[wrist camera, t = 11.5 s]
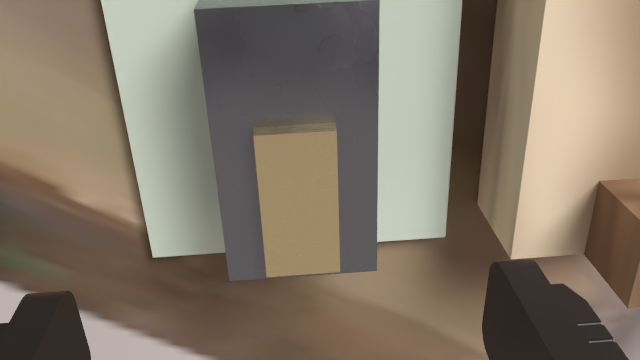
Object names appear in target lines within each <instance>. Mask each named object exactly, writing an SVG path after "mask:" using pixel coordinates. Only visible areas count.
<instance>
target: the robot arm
mask: <svg viewBox="0 0 640 360" xmlns="http://www.w3.org/2000/svg"><path fill="white" fill-rule="evenodd" d="M482 333H483V341H484V345H485V349H486V352H487V355H488V357H489V360H629V359H628V358H627V357H626V356H625V354H624V352H623V351H622V350H621V348H620V347H619V346H618V344H617V343H616V342H613V337H612V336H611V334H610V333H609V332H608V330H607V329H606V327H605V326H604V325H601V320H600V319H599V318H598V316H597V315H596V314H595V312H594V311H593V309H592V308H591V307H590V305H589V304H588V302H587V301H586V300H585V299H583V298H582V297H581V296H579V295H578V294H576V293H575V292H574V291H572V290H571V289H570V288H568V287H567V286H565V285H564V284H550V283H549V281H548V280H547V278H546V277H545V275H544V274H543V272H542V271H541V269H540V268H539V266H538V265H537V263H536V262H535V261H534V260H516V261H502V262H494V263H492V265H491V267H490V271H489V277H488V285H487V292H486V299H485V306H484V314H483V322H482ZM0 360H91V356H90V350H89V346H88V343H87V339H86V336H85V332H84V329H83V325H82V322H81V318H80V315H79V311H78V308H77V304H76V301H75V298H74V296H73V294H72V293H71V292H70V291H60V292H45V293H31V294H27V295H25V296H24V297H23V299H22V300H21V302H20V304H19V306H18V307H17V309H16V311H15V313H14V315H13V317H12V319H11V320H10V322H9V323H1V324H0Z"/></svg>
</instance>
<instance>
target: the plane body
mask: <svg viewBox="0 0 640 360" xmlns="http://www.w3.org/2000/svg"><path fill="white" fill-rule="evenodd" d="M477 205H478V206H479V208H480V210H481V211H482V213H483V215H484V216H485V218H486V219H487V221H488V223H489V224H490V226H491V228H492V229H493V231H494V233H495V234H496V236H497V238H498V239H499V241H500V242H501V244H502V246H503V247H504V249H505V251H506V252H507V254H508V256H509V257H510V259H524V258H538V257H552V256H566V255H579V254H584V255H585V256H586V257H587V258H588V260H589V261H590V262H591V263H592V265H593V266H594V267H595V268H596V270H597V271H598V272H599V273H600V274H601V276H602V277H603V278H604V279H605V281H606V282H607V283H608V284H609V286H610V287H611V288H612V289H613V291H614V292H615V293H616V294H617V296H618V297H619V298H620V299H621V300H622V302H623V303H624V304H625V305H626V307H627V308H635V307H640V0H497V10H496V20H495V30H494V40H493V50H492V60H491V70H490V80H489V90H488V100H487V111H486V121H485V131H484V141H483V151H482V161H481V171H480V181H479V191H478V201H477Z"/></svg>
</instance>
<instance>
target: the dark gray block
mask: <svg viewBox="0 0 640 360" xmlns="http://www.w3.org/2000/svg"><path fill="white" fill-rule="evenodd" d="M194 16H195V24H196V31H197V39H198V46H199V54H200V62H201V69H202V77H203V85H204V92H205V100H206V107H207V115H208V123H209V130H210V138H211V145H212V153H213V161H214V168H215V176H216V183H217V191H218V199H219V206H220V214H221V221H222V229H223V237H224V244H225V252H226V259H227V267H228V275H229V281H240V280H254V279H269V278H283V277H297V276H311V275H325V274H339V273H353V272H367V271H377V203H378V109H379V16H380V0H199V1H198V2H197V4H196V6H195V8H194Z"/></svg>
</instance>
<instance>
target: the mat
mask: <svg viewBox="0 0 640 360" xmlns="http://www.w3.org/2000/svg"><path fill="white" fill-rule="evenodd" d="M198 1H199V0H101V3H102V8H103V13H104V18H105V23H106V28H107V33H108V38H109V43H110V48H111V53H112V58H113V63H114V67H115V72H116V77H117V82H118V87H119V92H120V97H121V102H122V107H123V112H124V117H125V122H126V127H127V132H128V137H129V142H130V147H131V152H132V157H133V161H134V166H135V171H136V176H137V181H138V186H139V191H140V196H141V201H142V206H143V211H144V216H145V221H146V226H147V231H148V236H149V241H150V246H151V251H152V255H153V258H155V257H169V256H183V255H197V254H212V253H226V252H225V244H224V237H223V229H222V221H221V214H220V206H219V199H218V191H217V183H216V176H215V168H214V161H213V153H212V145H211V138H210V130H209V123H208V115H207V107H206V100H205V92H204V85H203V77H202V69H201V62H200V54H199V46H198V39H197V31H196V24H195V16H194V8H195V6H196V4H197V2H198ZM461 14H462V0H380V16H379V109H378V203H377V242H383V241H397V240H412V239H426V238H440V237H445V235H446V221H447V207H448V194H449V180H450V166H451V152H452V138H453V125H454V111H455V97H456V83H457V69H458V56H459V42H460V28H461Z"/></svg>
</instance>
